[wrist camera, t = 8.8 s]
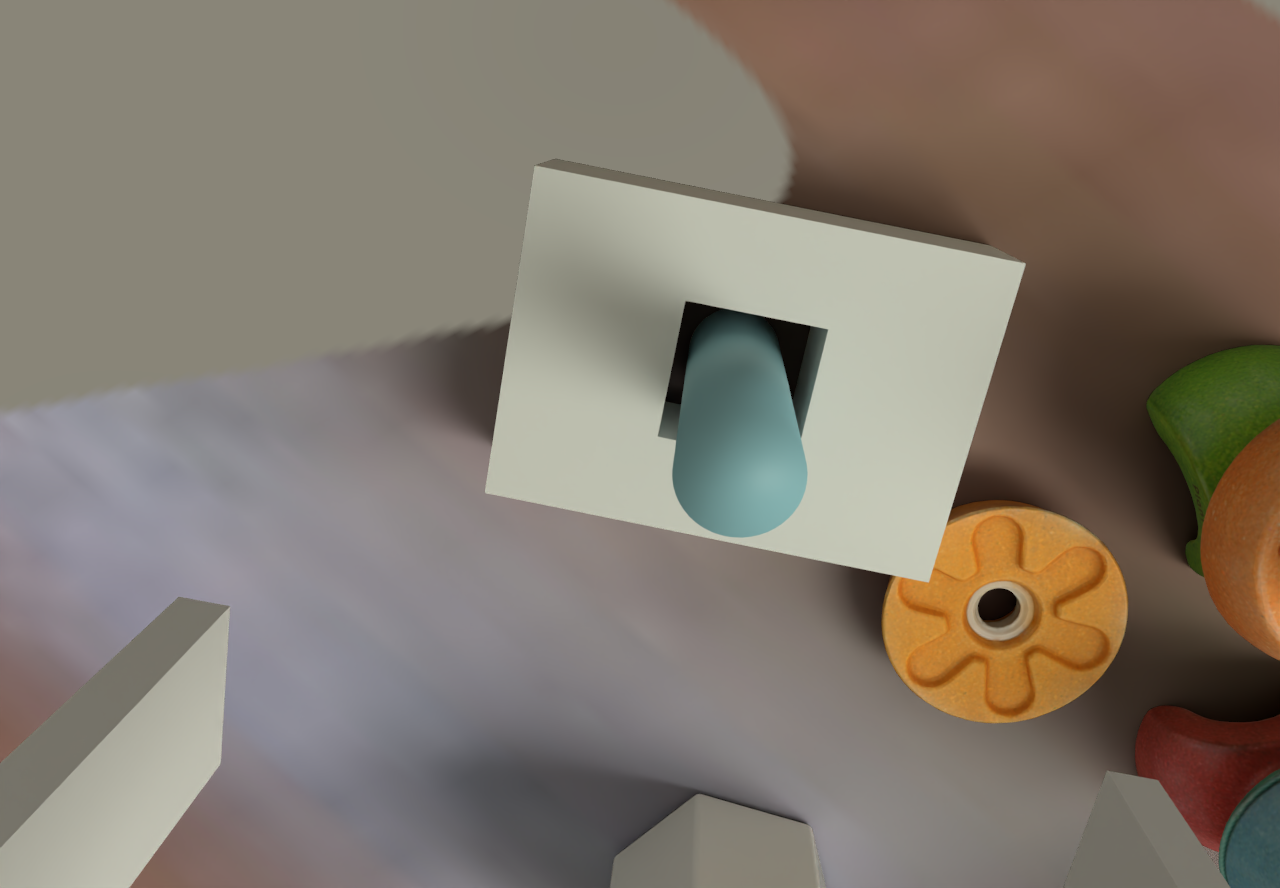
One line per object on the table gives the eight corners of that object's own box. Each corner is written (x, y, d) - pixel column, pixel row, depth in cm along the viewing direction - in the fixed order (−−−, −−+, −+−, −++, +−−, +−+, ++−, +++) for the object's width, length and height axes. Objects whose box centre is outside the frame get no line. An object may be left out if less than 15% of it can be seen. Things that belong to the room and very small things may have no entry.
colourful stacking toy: (824, 505, 36) (877, 699, 24) (1337, 300, 33) (1685, 409, 21) (1001, 902, 41) (1117, 1229, 29) (1468, 757, 38) (1815, 1058, 26)
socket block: (509, 452, 36) (484, 492, 33) (555, 158, 33) (534, 165, 29) (906, 532, 36) (928, 582, 32) (990, 245, 33) (1025, 263, 29)
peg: (680, 386, 35) (660, 522, 24) (698, 299, 34) (687, 398, 23) (768, 404, 35) (789, 549, 24) (789, 317, 34) (822, 426, 23)
